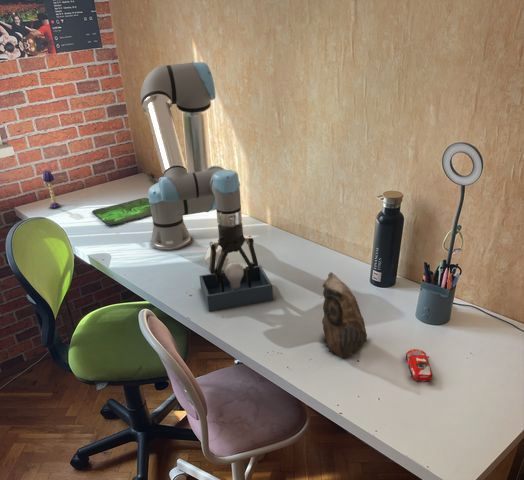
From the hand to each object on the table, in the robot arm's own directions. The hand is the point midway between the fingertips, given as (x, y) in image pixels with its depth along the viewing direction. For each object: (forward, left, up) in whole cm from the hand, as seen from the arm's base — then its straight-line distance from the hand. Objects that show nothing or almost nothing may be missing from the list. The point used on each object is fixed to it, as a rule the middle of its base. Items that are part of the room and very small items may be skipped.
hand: (235, 288), depth 186 cm
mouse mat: (-89, -29, -3) cm, 93 cm away
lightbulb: (0, 0, -2) cm, 2 cm away
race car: (+55, +37, -3) cm, 67 cm away
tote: (0, 0, -3) cm, 3 cm away
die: (-21, -2, -3) cm, 21 cm away
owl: (+38, +23, -3) cm, 45 cm away
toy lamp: (-109, -61, -3) cm, 125 cm away
